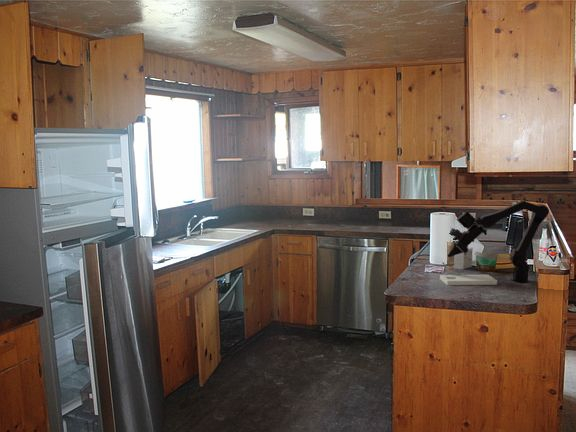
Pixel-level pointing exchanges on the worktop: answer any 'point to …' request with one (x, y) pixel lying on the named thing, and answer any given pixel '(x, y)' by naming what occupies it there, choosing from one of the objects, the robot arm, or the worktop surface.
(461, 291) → the worktop surface
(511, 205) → the robot arm
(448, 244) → the peg
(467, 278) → the board
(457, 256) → the light bulb box
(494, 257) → the food container
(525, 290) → the worktop surface
